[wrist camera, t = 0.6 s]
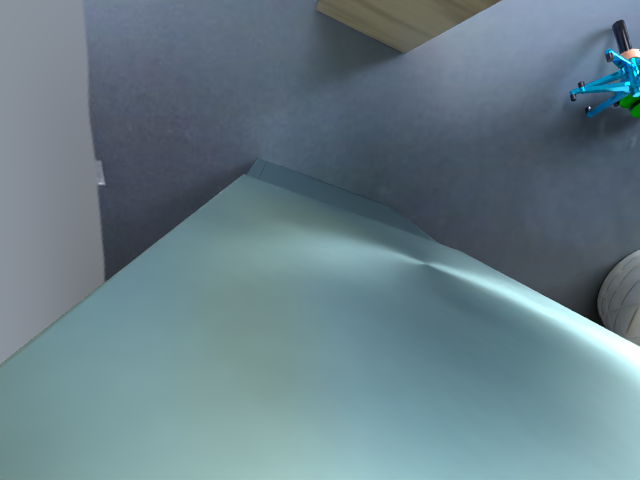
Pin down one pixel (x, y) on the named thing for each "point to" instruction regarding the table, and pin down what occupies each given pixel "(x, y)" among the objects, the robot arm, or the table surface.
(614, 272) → the vase
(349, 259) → the bin lid
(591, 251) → the table surface
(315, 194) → the bin
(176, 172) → the table surface
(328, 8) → the stand
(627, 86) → the stick construction toy
